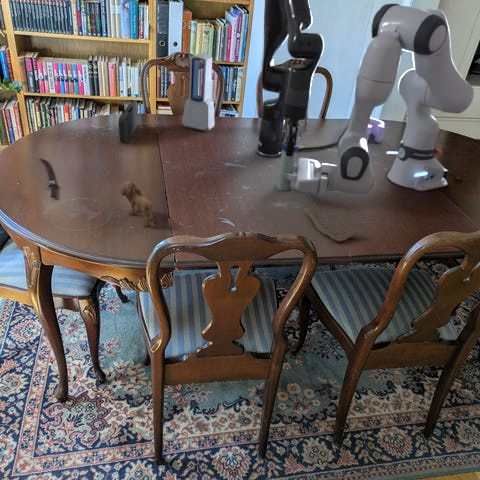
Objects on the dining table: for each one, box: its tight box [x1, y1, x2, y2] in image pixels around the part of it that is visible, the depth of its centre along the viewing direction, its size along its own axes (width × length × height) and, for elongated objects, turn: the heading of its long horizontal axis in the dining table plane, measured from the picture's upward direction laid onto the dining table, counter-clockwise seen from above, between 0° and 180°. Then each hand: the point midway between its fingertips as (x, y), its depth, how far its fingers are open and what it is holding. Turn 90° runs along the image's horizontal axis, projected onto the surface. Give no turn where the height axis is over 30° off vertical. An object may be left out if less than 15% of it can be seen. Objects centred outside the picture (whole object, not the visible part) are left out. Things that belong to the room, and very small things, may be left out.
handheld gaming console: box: [117, 101, 139, 143], centre depth 187 cm, size 23×3×10 cm, turn 178°
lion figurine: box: [119, 181, 159, 227], centre depth 134 cm, size 15×5×9 cm, turn 50°
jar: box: [276, 150, 297, 192], centre depth 157 cm, size 5×5×15 cm
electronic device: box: [181, 53, 216, 133], centre depth 194 cm, size 12×8×30 cm, turn 71°
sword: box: [40, 158, 59, 198], centre depth 151 cm, size 31×3×1 cm, turn 26°
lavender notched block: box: [366, 116, 386, 143], centre depth 214 cm, size 20×12×7 cm, turn 11°
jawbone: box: [303, 208, 364, 243], centre depth 139 cm, size 9×20×2 cm, turn 50°
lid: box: [281, 140, 299, 153], centre depth 153 cm, size 5×5×2 cm
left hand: (289, 151), depth 154 cm, fingers open, 7 cm apart
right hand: (283, 171), depth 158 cm, fingers closed on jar, 5 cm apart
